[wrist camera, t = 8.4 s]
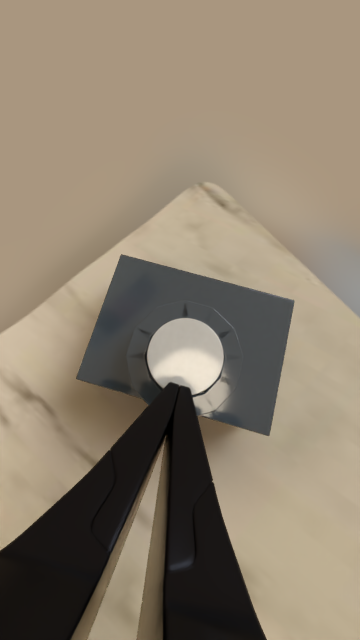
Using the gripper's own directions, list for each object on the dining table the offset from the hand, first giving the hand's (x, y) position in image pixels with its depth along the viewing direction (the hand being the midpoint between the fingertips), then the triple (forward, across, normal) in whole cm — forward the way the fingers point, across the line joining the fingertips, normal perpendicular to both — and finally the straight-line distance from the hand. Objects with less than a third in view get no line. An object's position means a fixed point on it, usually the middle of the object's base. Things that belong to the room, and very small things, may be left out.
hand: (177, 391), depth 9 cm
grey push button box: (+11, 0, +6) cm, 13 cm away
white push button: (+5, 0, +3) cm, 6 cm away
